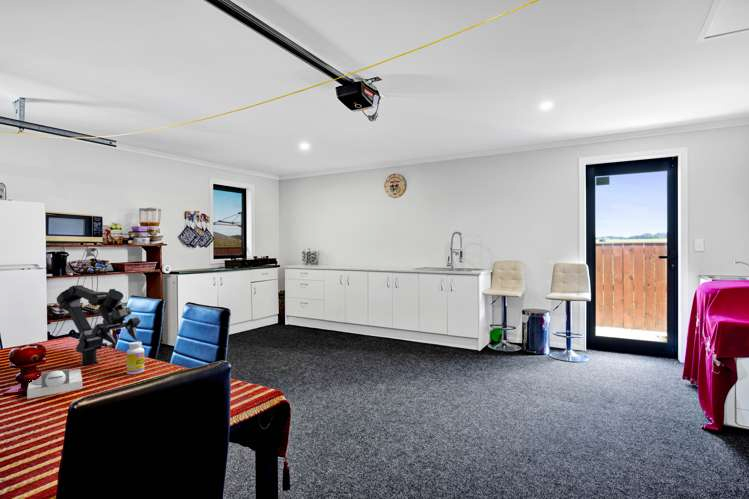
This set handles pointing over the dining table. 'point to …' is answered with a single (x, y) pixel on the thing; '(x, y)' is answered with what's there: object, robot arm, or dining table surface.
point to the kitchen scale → (55, 383)
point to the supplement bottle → (135, 358)
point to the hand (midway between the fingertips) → (125, 341)
